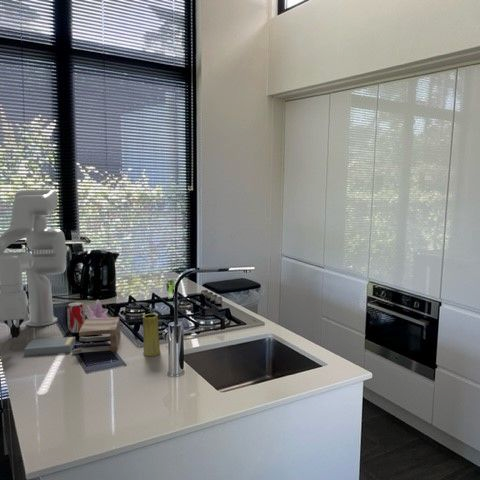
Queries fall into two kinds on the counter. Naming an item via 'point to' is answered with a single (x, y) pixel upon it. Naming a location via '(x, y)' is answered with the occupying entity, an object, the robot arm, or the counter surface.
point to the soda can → (75, 316)
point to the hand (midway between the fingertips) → (15, 336)
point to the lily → (97, 311)
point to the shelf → (100, 327)
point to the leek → (170, 289)
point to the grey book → (50, 346)
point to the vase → (151, 335)
